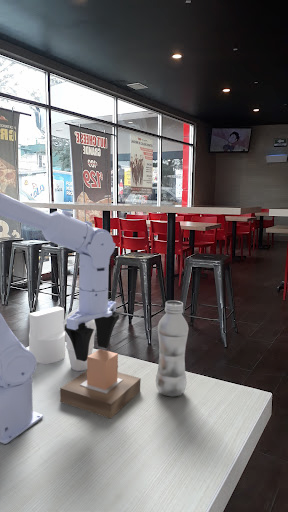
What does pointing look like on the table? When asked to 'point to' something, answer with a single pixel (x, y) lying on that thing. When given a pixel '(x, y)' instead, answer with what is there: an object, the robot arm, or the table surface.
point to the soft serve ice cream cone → (75, 363)
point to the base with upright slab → (47, 335)
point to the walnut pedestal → (100, 394)
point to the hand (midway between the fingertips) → (92, 353)
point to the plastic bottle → (172, 350)
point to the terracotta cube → (102, 369)
